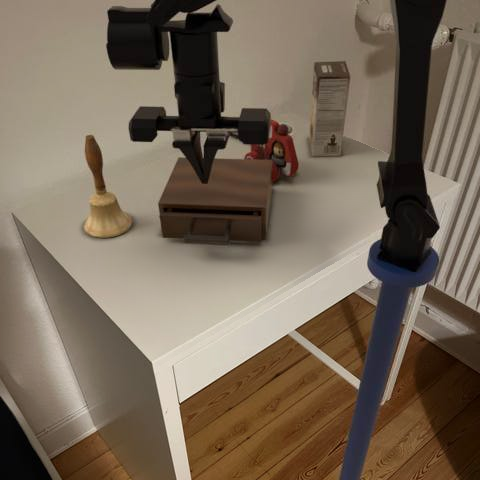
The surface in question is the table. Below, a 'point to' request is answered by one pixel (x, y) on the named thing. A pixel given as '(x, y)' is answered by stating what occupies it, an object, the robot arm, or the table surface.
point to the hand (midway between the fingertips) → (205, 182)
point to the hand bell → (103, 199)
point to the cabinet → (222, 187)
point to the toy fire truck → (277, 151)
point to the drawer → (211, 225)
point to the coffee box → (328, 107)
